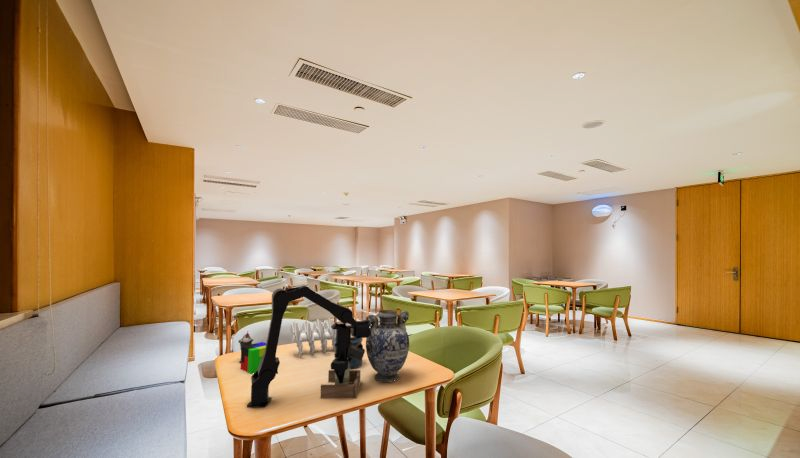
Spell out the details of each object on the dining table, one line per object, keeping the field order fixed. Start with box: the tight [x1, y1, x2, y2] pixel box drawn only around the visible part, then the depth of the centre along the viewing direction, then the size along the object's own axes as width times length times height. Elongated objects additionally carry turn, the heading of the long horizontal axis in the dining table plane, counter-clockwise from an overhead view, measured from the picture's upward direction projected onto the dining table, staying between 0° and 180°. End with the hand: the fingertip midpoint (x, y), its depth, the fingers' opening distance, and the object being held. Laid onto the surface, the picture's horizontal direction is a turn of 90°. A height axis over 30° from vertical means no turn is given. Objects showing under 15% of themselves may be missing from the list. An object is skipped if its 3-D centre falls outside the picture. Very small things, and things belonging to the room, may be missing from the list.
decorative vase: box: [365, 309, 410, 383], centre depth 144 cm, size 21×19×28 cm
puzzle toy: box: [240, 341, 266, 375], centre depth 153 cm, size 10×10×10 cm
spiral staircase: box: [289, 317, 336, 357], centre depth 177 cm, size 18×18×25 cm
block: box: [334, 364, 351, 385], centre depth 131 cm, size 5×5×7 cm
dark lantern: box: [238, 332, 254, 364], centre depth 162 cm, size 7×7×15 cm
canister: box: [334, 335, 364, 370], centre depth 159 cm, size 13×13×18 cm
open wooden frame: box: [319, 369, 361, 399], centre depth 131 cm, size 16×13×4 cm
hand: (342, 380), depth 131 cm, fingers closed on block, 5 cm apart
